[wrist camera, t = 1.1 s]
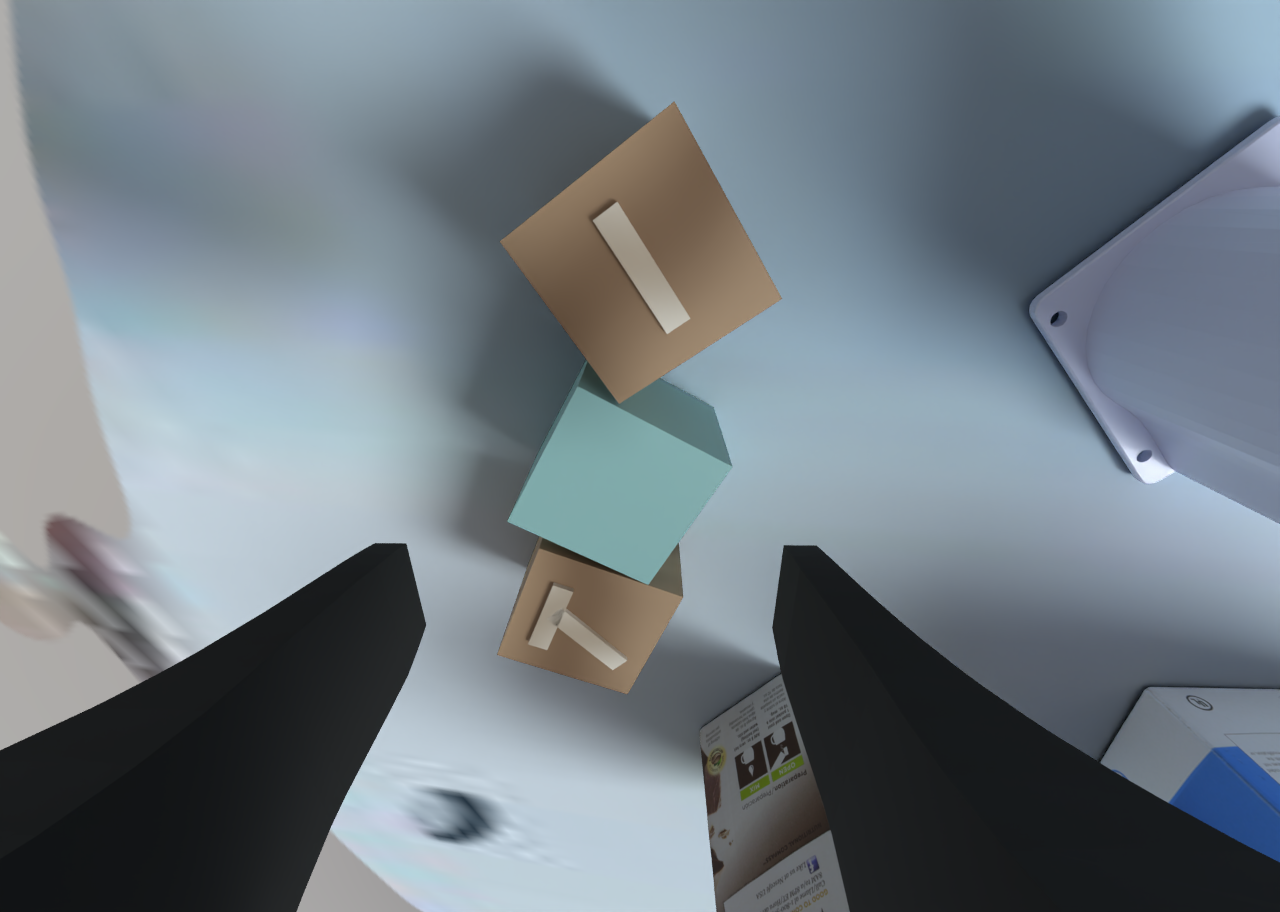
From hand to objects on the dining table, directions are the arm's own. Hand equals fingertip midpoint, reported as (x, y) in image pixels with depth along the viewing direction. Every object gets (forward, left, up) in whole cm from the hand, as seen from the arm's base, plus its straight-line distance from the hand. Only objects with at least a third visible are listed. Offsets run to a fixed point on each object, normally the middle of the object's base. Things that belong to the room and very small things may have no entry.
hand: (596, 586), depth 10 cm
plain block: (-1, +1, -10) cm, 11 cm away
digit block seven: (-4, +5, -10) cm, 12 cm away
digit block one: (+3, -4, -10) cm, 12 cm away
